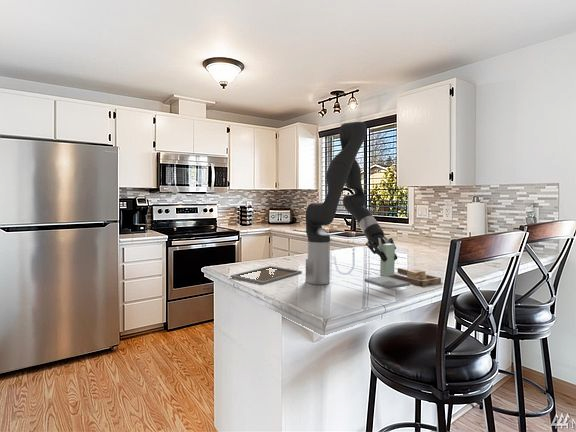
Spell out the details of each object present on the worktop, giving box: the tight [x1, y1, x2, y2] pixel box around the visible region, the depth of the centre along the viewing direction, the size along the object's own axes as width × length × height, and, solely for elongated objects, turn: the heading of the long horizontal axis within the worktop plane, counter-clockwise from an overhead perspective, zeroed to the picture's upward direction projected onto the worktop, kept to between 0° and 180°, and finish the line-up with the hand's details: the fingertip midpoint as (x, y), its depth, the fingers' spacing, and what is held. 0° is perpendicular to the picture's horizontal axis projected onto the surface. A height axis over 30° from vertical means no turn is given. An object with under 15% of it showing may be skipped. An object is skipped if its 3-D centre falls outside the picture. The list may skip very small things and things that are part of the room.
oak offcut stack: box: [407, 268, 427, 280], centre depth 152 cm, size 7×5×4 cm
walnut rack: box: [388, 267, 442, 287], centre depth 156 cm, size 12×23×2 cm, turn 30°
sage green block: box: [379, 243, 396, 276], centre depth 148 cm, size 5×3×13 cm, turn 120°
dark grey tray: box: [230, 265, 303, 286], centre depth 161 cm, size 19×2×30 cm
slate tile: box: [364, 275, 411, 289], centre depth 149 cm, size 12×14×1 cm
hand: (390, 259), depth 147 cm, fingers closed on sage green block, 5 cm apart
